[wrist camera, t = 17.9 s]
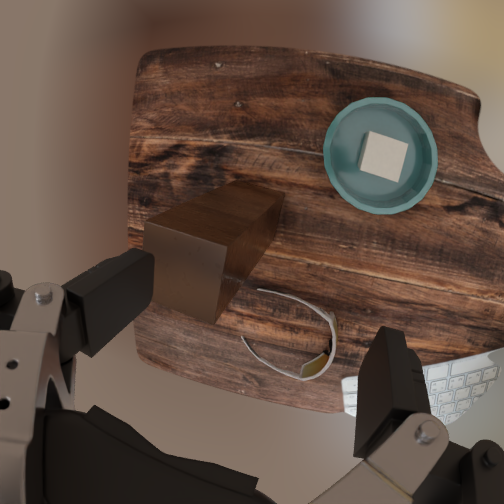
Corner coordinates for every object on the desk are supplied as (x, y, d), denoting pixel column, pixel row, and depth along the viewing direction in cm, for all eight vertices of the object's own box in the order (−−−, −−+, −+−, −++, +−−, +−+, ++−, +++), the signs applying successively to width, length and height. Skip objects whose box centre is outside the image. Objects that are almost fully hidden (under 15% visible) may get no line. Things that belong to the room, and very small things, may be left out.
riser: (236, 180, 43) (144, 220, 23) (284, 192, 42) (227, 246, 22) (227, 226, 46) (140, 296, 26) (273, 240, 44) (213, 325, 25)
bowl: (338, 89, 35) (337, 83, 30) (437, 122, 32) (449, 120, 28) (314, 188, 40) (310, 194, 36) (410, 218, 38) (418, 229, 33)
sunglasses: (319, 375, 50) (312, 394, 46) (243, 338, 54) (230, 353, 50) (356, 312, 44) (351, 329, 40) (266, 271, 49) (253, 283, 44)
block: (365, 132, 35) (369, 130, 30) (398, 143, 34) (408, 143, 29) (357, 165, 37) (359, 170, 32) (390, 176, 36) (398, 182, 31)
